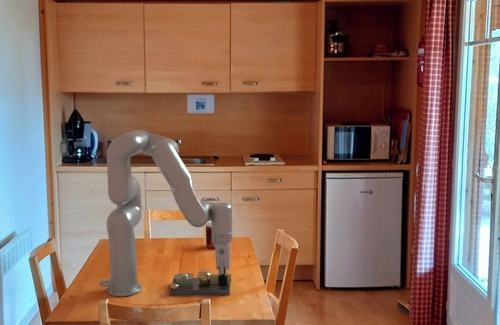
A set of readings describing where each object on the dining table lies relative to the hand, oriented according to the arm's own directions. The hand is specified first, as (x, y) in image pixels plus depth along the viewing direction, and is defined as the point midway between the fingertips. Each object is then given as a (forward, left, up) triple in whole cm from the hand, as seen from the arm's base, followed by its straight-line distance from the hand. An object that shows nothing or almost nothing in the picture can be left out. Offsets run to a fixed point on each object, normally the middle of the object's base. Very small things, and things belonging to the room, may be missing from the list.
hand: (222, 285), depth 208 cm
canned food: (-6, +59, -3) cm, 59 cm away
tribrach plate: (-8, +5, -3) cm, 10 cm away
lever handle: (-3, +5, -1) cm, 6 cm away
